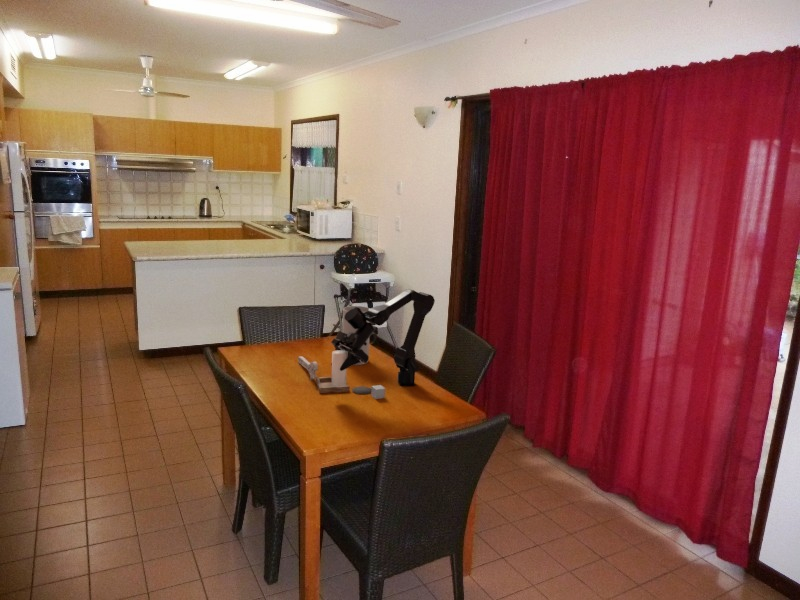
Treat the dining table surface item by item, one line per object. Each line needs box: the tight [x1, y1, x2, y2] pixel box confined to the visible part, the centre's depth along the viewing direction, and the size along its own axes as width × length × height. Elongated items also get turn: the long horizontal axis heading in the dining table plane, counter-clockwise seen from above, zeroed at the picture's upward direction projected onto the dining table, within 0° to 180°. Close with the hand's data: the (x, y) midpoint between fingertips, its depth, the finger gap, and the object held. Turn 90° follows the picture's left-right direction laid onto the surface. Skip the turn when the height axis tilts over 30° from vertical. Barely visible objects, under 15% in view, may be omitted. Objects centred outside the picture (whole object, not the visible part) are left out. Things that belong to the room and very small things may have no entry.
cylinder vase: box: [341, 305, 371, 366], centre depth 266 cm, size 12×12×25 cm
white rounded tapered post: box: [331, 350, 348, 386], centre depth 220 cm, size 6×6×12 cm
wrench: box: [297, 355, 319, 380], centre depth 250 cm, size 8×2×30 cm
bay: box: [315, 376, 350, 394], centre depth 235 cm, size 12×12×2 cm
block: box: [370, 384, 386, 400], centre depth 227 cm, size 4×4×4 cm
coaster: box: [351, 386, 372, 395], centre depth 233 cm, size 8×8×1 cm
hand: (336, 367), depth 219 cm, fingers closed on white rounded tapered post, 6 cm apart
